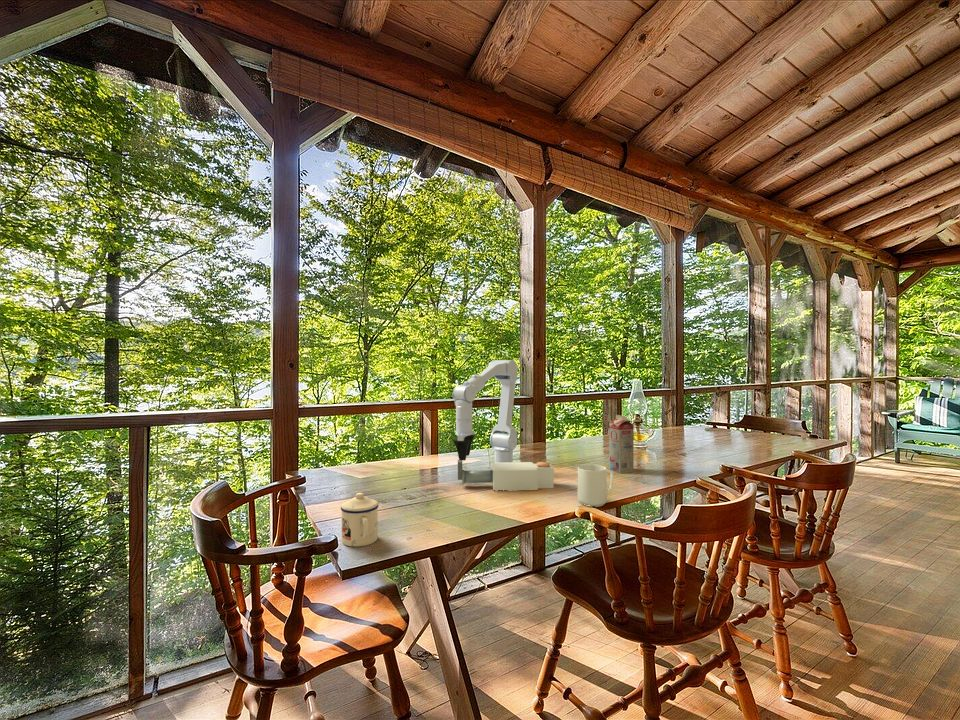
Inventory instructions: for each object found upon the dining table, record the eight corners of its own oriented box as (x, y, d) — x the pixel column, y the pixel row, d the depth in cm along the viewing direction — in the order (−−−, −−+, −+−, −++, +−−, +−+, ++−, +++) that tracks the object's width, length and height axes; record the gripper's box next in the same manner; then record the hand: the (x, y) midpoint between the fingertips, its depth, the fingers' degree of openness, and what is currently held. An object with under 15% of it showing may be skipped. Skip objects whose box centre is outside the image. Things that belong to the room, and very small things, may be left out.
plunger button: (535, 472, 170) (535, 462, 170) (548, 471, 170) (548, 461, 170) (537, 475, 165) (537, 465, 165) (551, 475, 165) (551, 464, 165)
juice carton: (619, 473, 185) (619, 416, 185) (609, 469, 191) (609, 414, 191) (633, 471, 187) (633, 416, 187) (623, 468, 194) (623, 414, 193)
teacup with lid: (337, 537, 120) (337, 491, 120) (373, 531, 124) (373, 486, 124) (346, 555, 110) (346, 504, 109) (385, 548, 113) (385, 499, 113)
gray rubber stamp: (457, 481, 168) (457, 459, 168) (492, 481, 169) (492, 459, 169) (457, 485, 164) (457, 462, 164) (493, 485, 164) (493, 462, 164)
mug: (587, 509, 142) (587, 472, 142) (572, 500, 151) (572, 465, 150) (621, 505, 146) (621, 468, 146) (604, 496, 154) (604, 462, 154)
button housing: (490, 481, 173) (490, 462, 173) (548, 481, 174) (548, 461, 174) (493, 491, 161) (493, 470, 161) (555, 490, 162) (555, 469, 162)
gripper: (472, 422, 160) (472, 462, 160) (478, 416, 174) (478, 453, 175) (451, 422, 161) (451, 462, 161) (459, 416, 175) (459, 453, 176)
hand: (464, 457), depth 168 cm, fingers open, 7 cm apart
